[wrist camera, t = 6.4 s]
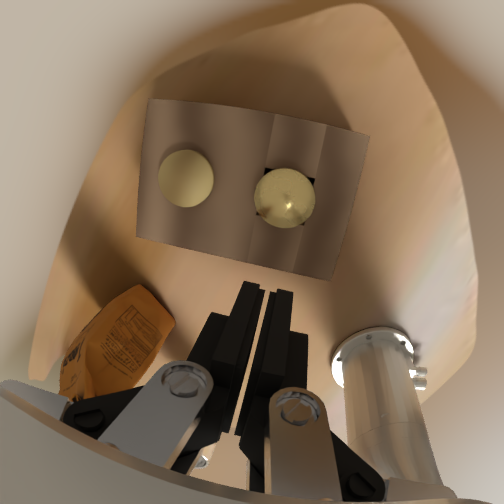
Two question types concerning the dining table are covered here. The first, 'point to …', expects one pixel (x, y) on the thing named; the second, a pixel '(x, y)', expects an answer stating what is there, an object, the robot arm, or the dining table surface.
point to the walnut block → (244, 183)
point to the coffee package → (115, 346)
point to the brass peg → (284, 197)
